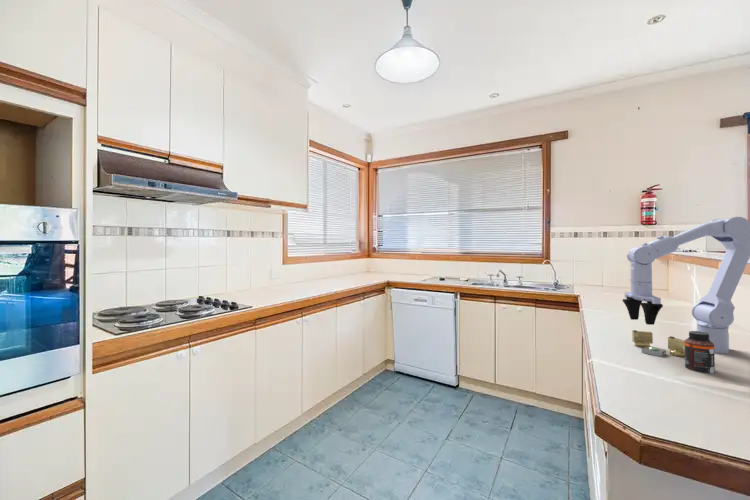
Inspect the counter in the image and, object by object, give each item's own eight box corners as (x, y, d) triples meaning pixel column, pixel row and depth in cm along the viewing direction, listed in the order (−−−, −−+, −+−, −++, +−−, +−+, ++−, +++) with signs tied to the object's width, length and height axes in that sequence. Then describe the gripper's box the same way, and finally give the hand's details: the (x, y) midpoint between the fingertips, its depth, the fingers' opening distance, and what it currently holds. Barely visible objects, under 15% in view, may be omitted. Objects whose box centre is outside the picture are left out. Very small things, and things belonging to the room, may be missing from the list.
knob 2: (692, 357, 102) (692, 340, 102) (679, 357, 101) (679, 341, 101) (676, 352, 107) (676, 336, 107) (664, 352, 107) (664, 336, 107)
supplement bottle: (721, 378, 89) (720, 335, 89) (695, 376, 90) (694, 334, 90) (704, 370, 94) (703, 330, 94) (679, 369, 96) (678, 329, 96)
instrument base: (634, 346, 118) (634, 337, 118) (696, 357, 105) (696, 348, 105) (620, 352, 111) (620, 343, 111) (685, 365, 98) (684, 355, 98)
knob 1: (649, 344, 115) (648, 330, 115) (654, 348, 111) (654, 332, 111) (630, 343, 117) (630, 329, 117) (635, 346, 113) (635, 331, 113)
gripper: (615, 280, 122) (616, 317, 122) (643, 284, 107) (644, 326, 107) (636, 279, 121) (636, 317, 121) (667, 284, 107) (668, 326, 107)
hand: (641, 321), depth 114 cm, fingers open, 7 cm apart
